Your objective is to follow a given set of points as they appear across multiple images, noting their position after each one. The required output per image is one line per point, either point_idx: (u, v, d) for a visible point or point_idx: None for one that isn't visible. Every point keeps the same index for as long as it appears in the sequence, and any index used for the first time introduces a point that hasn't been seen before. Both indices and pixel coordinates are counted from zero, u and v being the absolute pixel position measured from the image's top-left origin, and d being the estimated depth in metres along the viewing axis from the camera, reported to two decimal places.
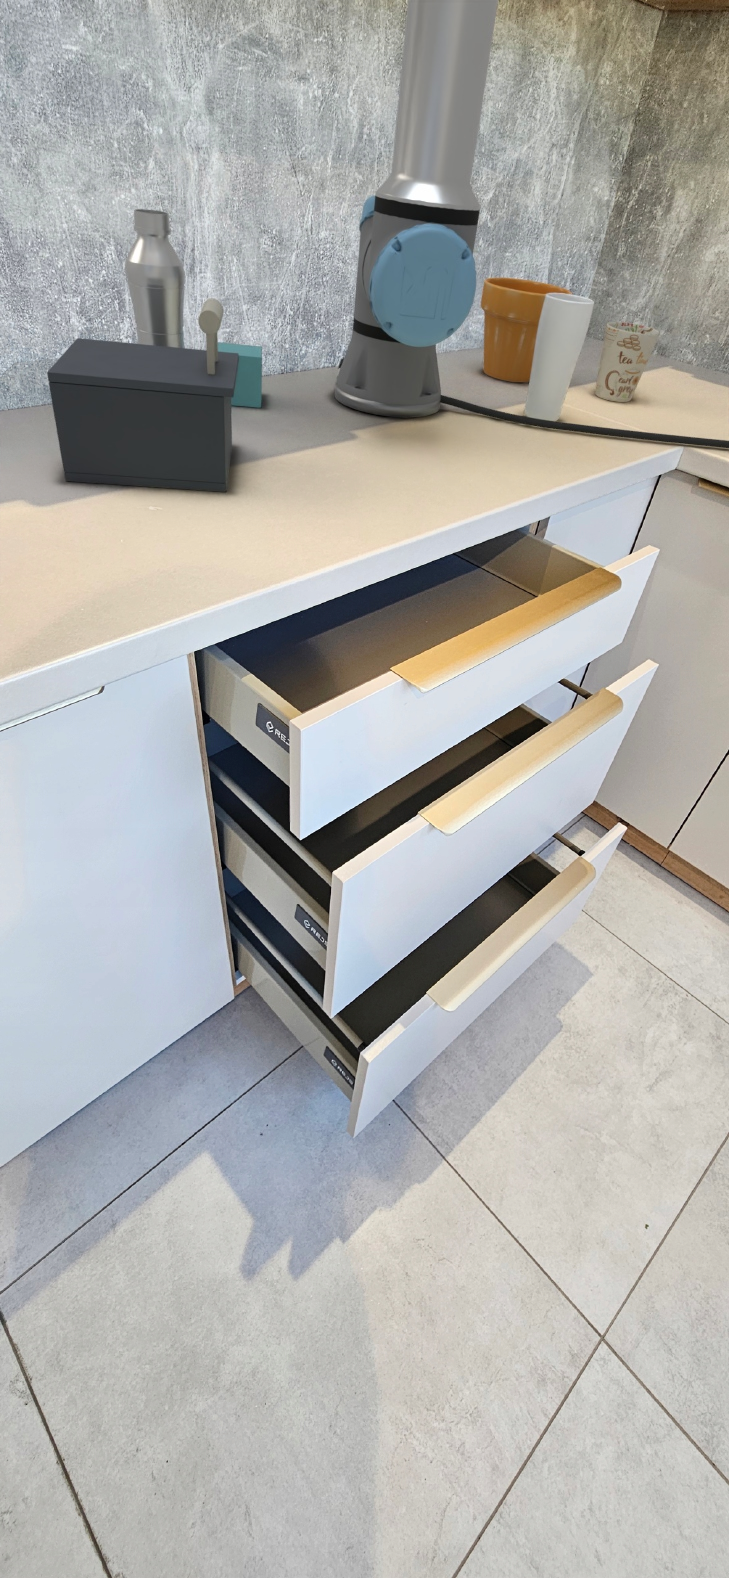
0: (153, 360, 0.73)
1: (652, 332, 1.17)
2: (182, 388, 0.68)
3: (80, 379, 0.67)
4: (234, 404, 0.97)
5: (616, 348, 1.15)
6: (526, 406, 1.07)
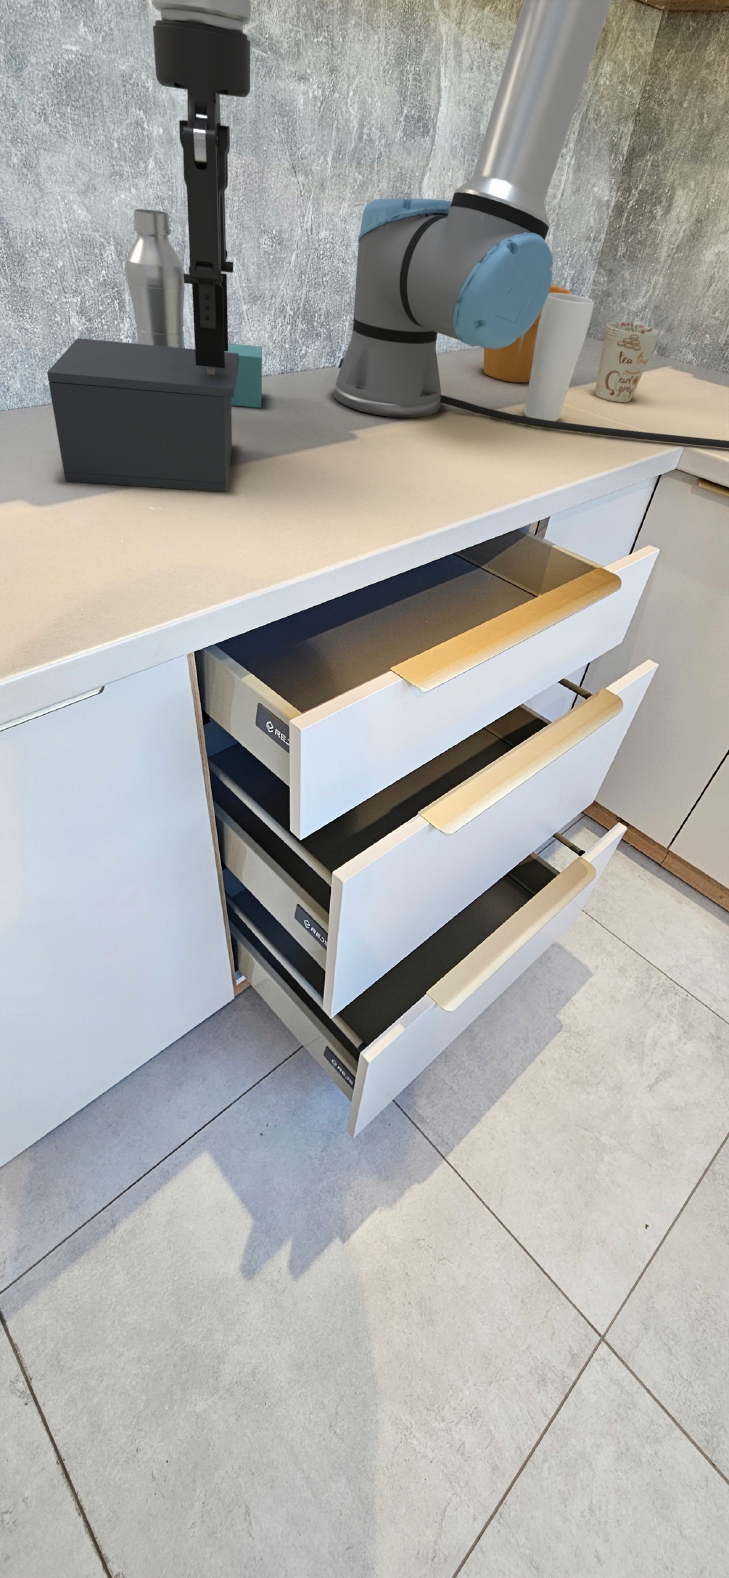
0: (153, 360, 0.73)
1: (652, 332, 1.17)
2: (182, 388, 0.68)
3: (80, 379, 0.67)
4: (234, 404, 0.97)
5: (616, 348, 1.15)
6: (526, 406, 1.07)
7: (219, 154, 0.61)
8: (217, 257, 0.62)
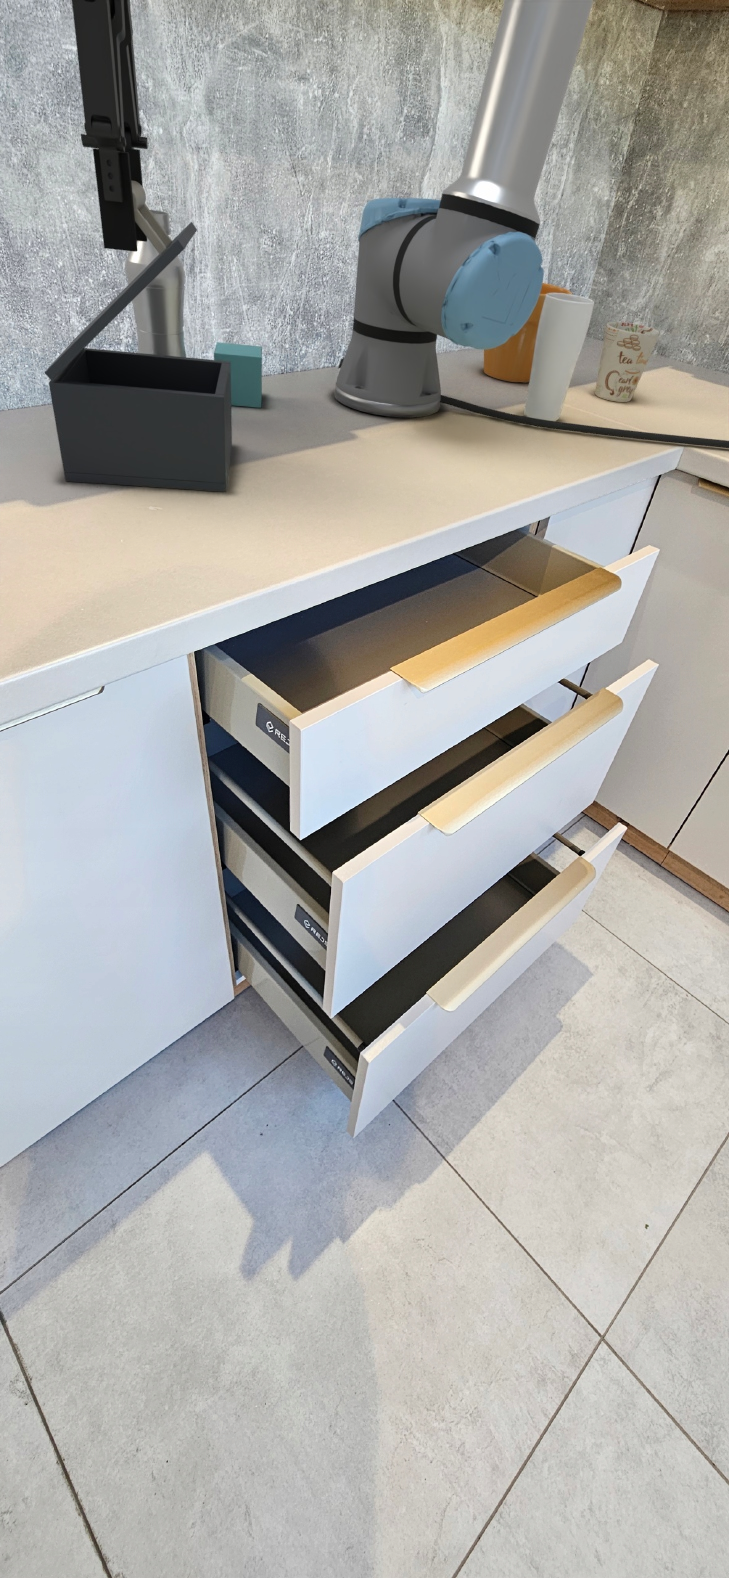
0: None
1: (652, 332, 1.17)
2: (141, 283, 0.62)
3: (68, 355, 0.66)
4: (234, 404, 0.97)
5: (616, 348, 1.15)
6: (526, 406, 1.07)
7: None
8: (115, 110, 0.55)
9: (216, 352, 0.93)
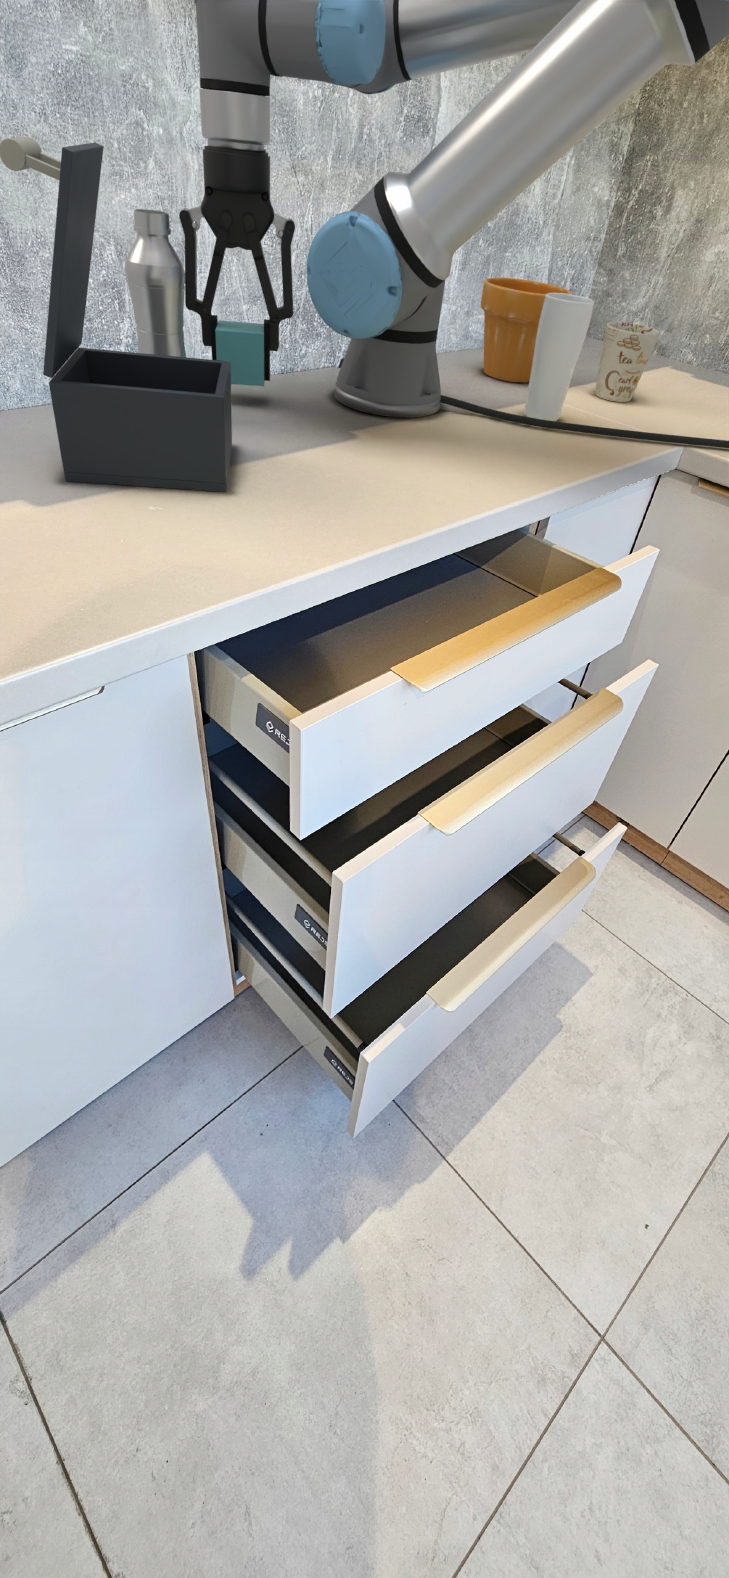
0: None
1: (652, 332, 1.17)
2: (61, 221, 0.59)
3: (50, 342, 0.65)
4: (237, 383, 0.95)
5: (616, 348, 1.15)
6: (526, 406, 1.07)
7: (218, 230, 0.86)
8: (185, 293, 0.90)
9: (218, 329, 0.91)
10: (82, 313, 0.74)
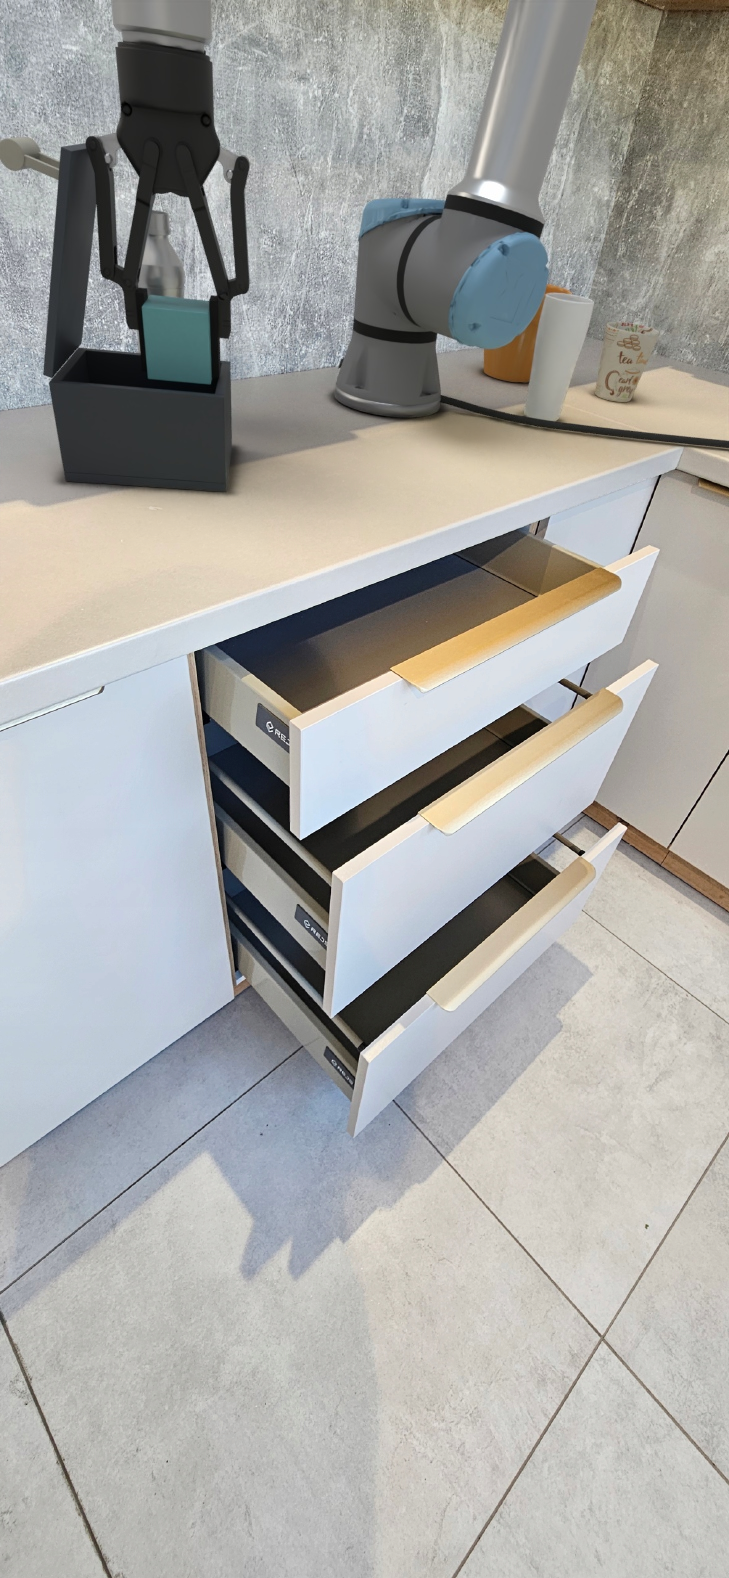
0: None
1: (652, 332, 1.17)
2: (60, 220, 0.59)
3: (50, 342, 0.65)
4: (174, 379, 0.71)
5: (616, 348, 1.15)
6: (526, 406, 1.07)
7: (141, 166, 0.62)
8: (99, 255, 0.65)
9: (145, 306, 0.67)
10: (82, 313, 0.74)
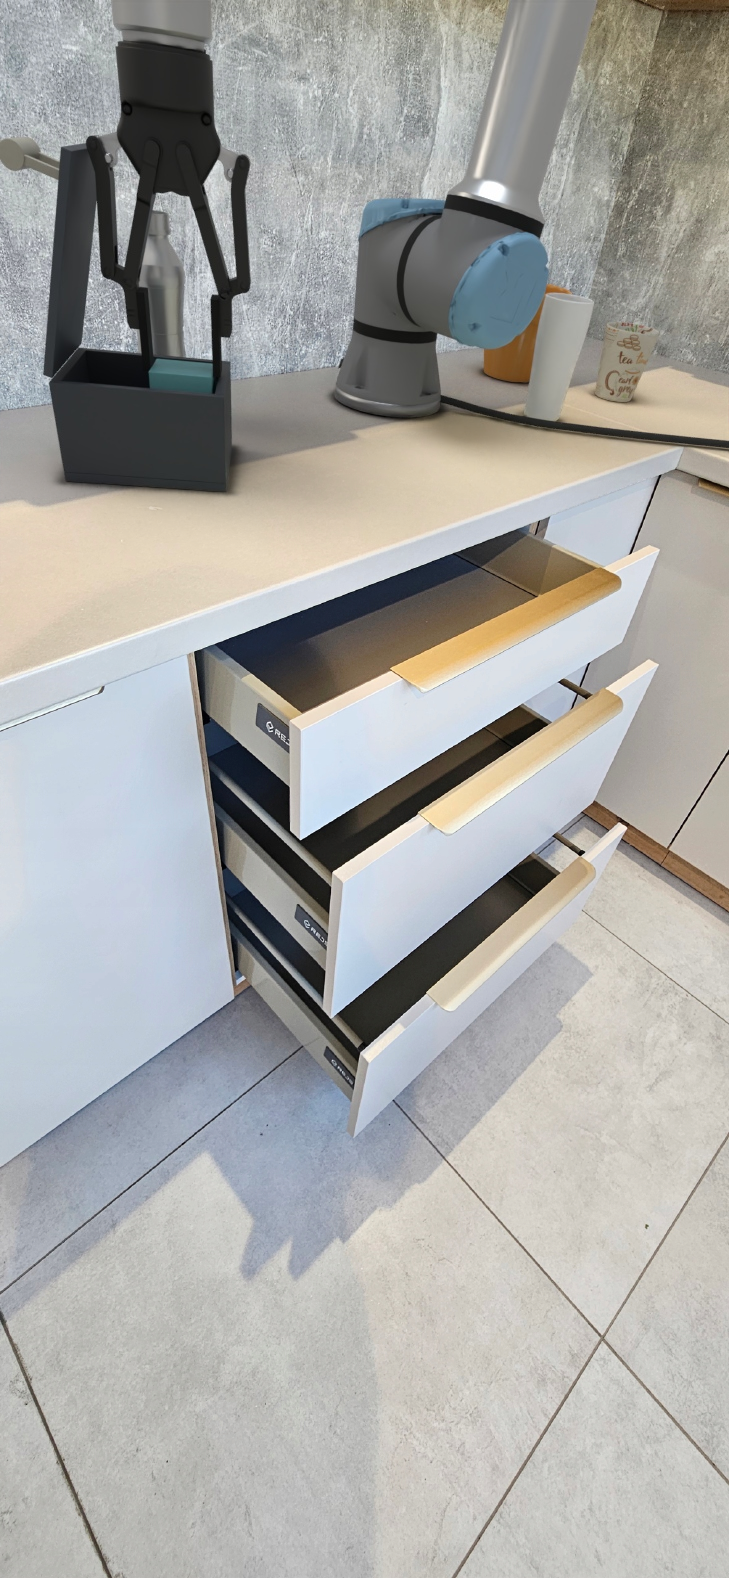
0: None
1: (652, 332, 1.17)
2: (60, 220, 0.59)
3: (50, 342, 0.65)
4: None
5: (616, 348, 1.15)
6: (526, 406, 1.07)
7: (142, 166, 0.62)
8: (100, 255, 0.65)
9: (152, 371, 0.71)
10: (82, 313, 0.74)
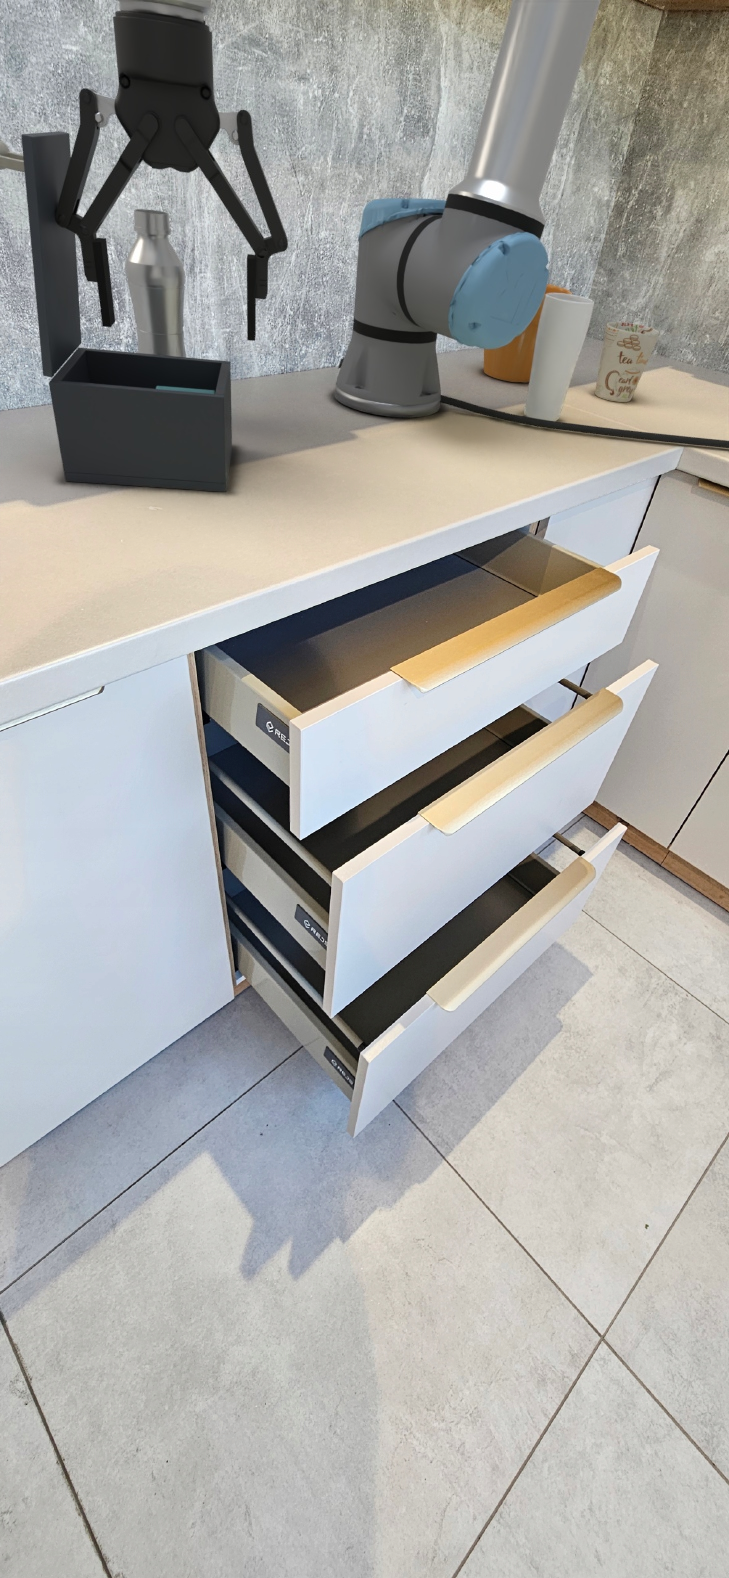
0: None
1: (652, 332, 1.17)
2: (33, 212, 0.59)
3: (44, 341, 0.65)
4: None
5: (616, 348, 1.15)
6: (526, 406, 1.07)
7: (135, 133, 0.60)
8: (59, 200, 0.63)
9: None
10: (76, 311, 0.74)
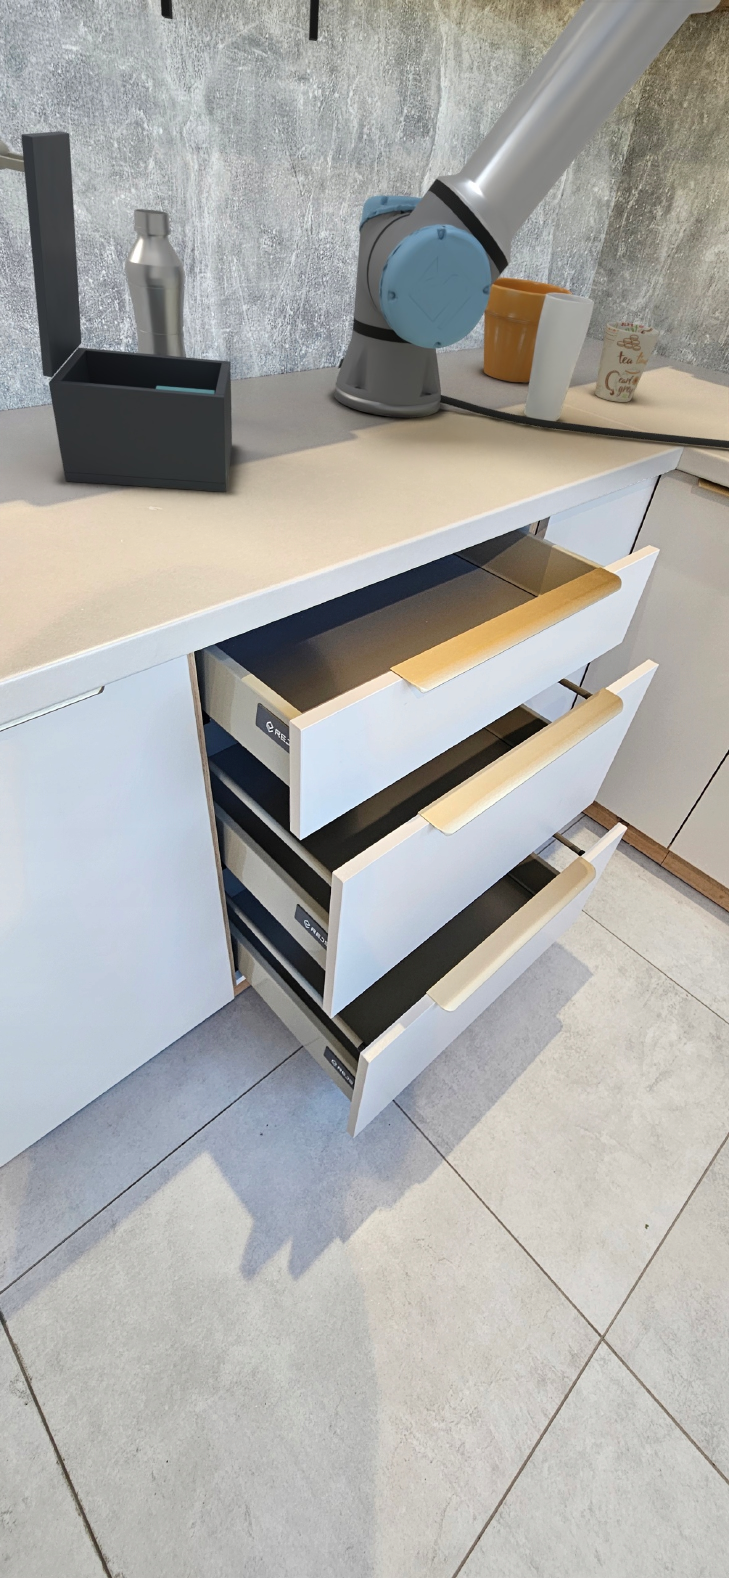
0: None
1: (652, 332, 1.17)
2: (33, 212, 0.59)
3: (44, 341, 0.65)
4: None
5: (616, 348, 1.15)
6: (526, 406, 1.07)
7: None
8: None
9: None
10: (76, 311, 0.74)
